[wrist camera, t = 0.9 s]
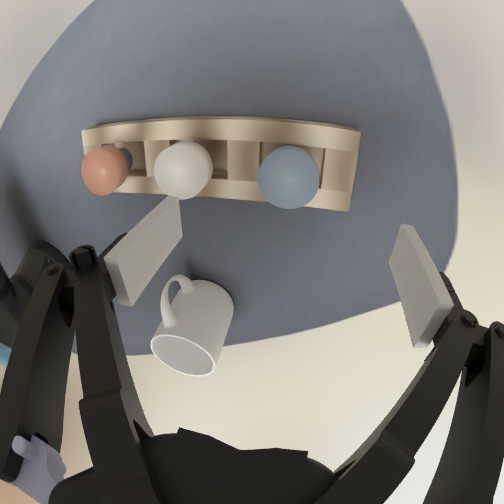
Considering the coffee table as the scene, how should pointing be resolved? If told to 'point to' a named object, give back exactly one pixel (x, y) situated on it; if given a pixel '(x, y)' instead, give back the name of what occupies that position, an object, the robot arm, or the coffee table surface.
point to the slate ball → (288, 177)
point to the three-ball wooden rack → (235, 152)
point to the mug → (193, 326)
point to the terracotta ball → (105, 169)
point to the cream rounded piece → (183, 169)
